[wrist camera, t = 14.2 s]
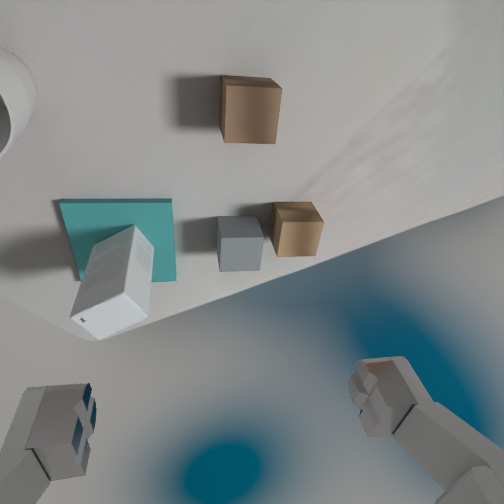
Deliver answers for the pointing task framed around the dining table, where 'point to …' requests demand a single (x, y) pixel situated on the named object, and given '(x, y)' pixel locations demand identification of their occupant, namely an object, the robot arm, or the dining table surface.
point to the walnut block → (249, 109)
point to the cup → (14, 98)
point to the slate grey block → (239, 243)
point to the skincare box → (115, 284)
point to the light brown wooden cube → (295, 229)
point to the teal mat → (121, 228)
